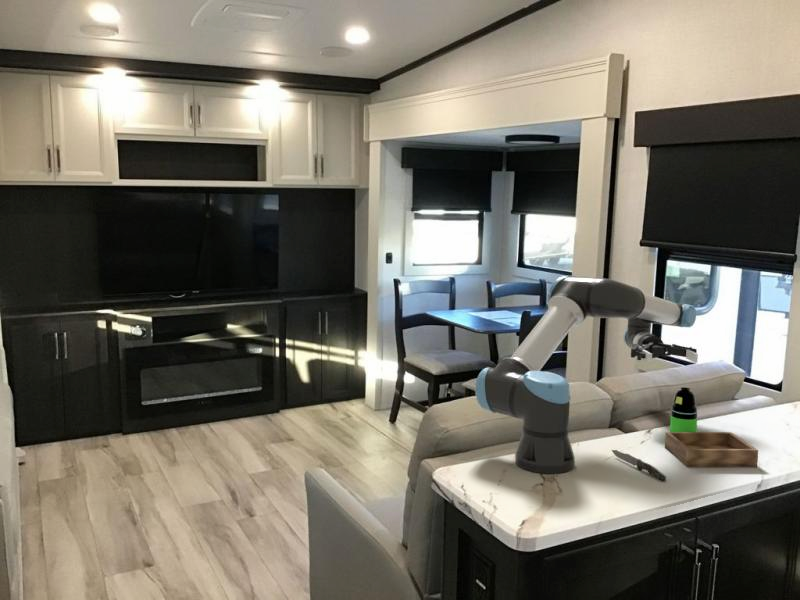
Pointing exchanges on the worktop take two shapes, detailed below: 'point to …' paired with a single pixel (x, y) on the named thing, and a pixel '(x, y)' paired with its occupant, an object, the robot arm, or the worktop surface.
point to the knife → (640, 465)
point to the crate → (711, 449)
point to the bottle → (684, 412)
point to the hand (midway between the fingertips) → (673, 358)
